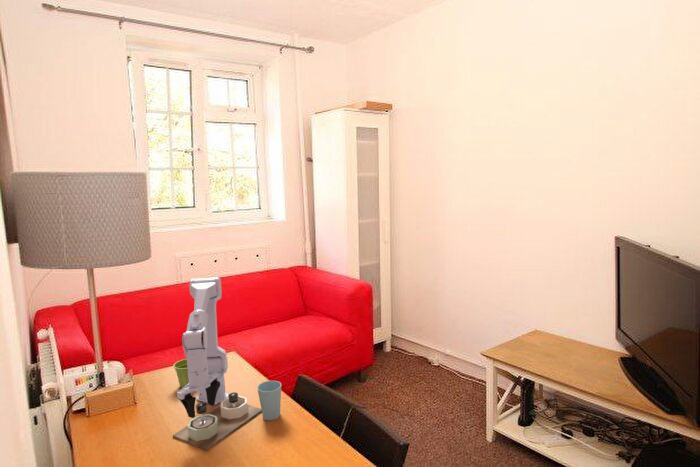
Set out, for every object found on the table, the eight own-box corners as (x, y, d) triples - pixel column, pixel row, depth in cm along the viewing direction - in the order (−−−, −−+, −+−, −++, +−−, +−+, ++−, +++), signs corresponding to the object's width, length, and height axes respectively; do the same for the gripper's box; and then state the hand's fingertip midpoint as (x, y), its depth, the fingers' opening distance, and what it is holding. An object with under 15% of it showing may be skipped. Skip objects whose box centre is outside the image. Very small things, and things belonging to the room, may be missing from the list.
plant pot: (191, 377, 176) (189, 356, 175) (206, 382, 170) (204, 361, 169) (170, 386, 168) (168, 365, 167) (185, 392, 163) (182, 370, 162)
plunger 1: (188, 425, 134) (186, 407, 133) (203, 416, 139) (202, 398, 138) (201, 430, 131) (200, 411, 130) (217, 420, 136) (215, 402, 135)
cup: (258, 423, 140) (256, 392, 139) (260, 411, 148) (258, 381, 146) (282, 420, 141) (280, 390, 140) (283, 408, 149) (281, 379, 147)
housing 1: (183, 435, 134) (182, 425, 134) (205, 422, 141) (204, 412, 141) (202, 443, 130) (201, 432, 129) (223, 428, 137) (222, 418, 137)
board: (172, 437, 135) (172, 435, 135) (230, 401, 155) (230, 399, 155) (206, 450, 127) (206, 448, 127) (262, 411, 148) (262, 409, 148)
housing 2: (216, 415, 145) (215, 405, 145) (234, 403, 152) (233, 394, 152) (234, 421, 141) (233, 411, 140) (252, 408, 148) (252, 399, 148)
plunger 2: (221, 413, 146) (219, 396, 145) (234, 405, 151) (233, 388, 150) (234, 418, 143) (233, 400, 142) (247, 409, 148) (246, 392, 147)
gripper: (186, 381, 125) (191, 426, 126) (225, 361, 137) (228, 402, 139) (170, 376, 128) (175, 420, 130) (209, 357, 141) (213, 397, 142)
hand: (201, 410), depth 135 cm, fingers open, 7 cm apart
